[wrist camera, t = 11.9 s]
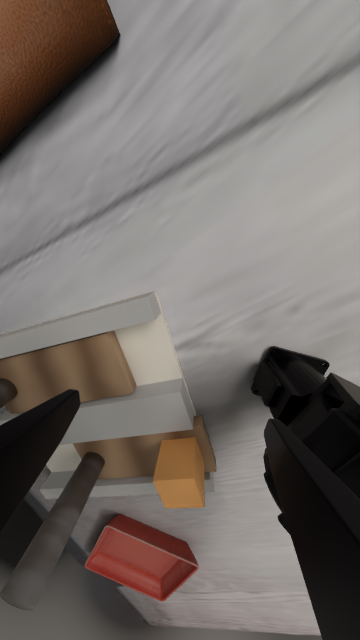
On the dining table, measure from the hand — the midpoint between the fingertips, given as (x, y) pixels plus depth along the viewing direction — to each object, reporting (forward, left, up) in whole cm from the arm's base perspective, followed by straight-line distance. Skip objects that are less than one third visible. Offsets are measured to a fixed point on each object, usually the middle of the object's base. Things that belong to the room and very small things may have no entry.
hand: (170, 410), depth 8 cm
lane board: (+10, +16, -13) cm, 23 cm away
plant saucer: (-3, +49, -13) cm, 51 cm away
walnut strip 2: (+2, +20, -12) cm, 23 cm away
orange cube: (-4, +17, -10) cm, 20 cm away
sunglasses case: (+20, -18, -14) cm, 30 cm away
